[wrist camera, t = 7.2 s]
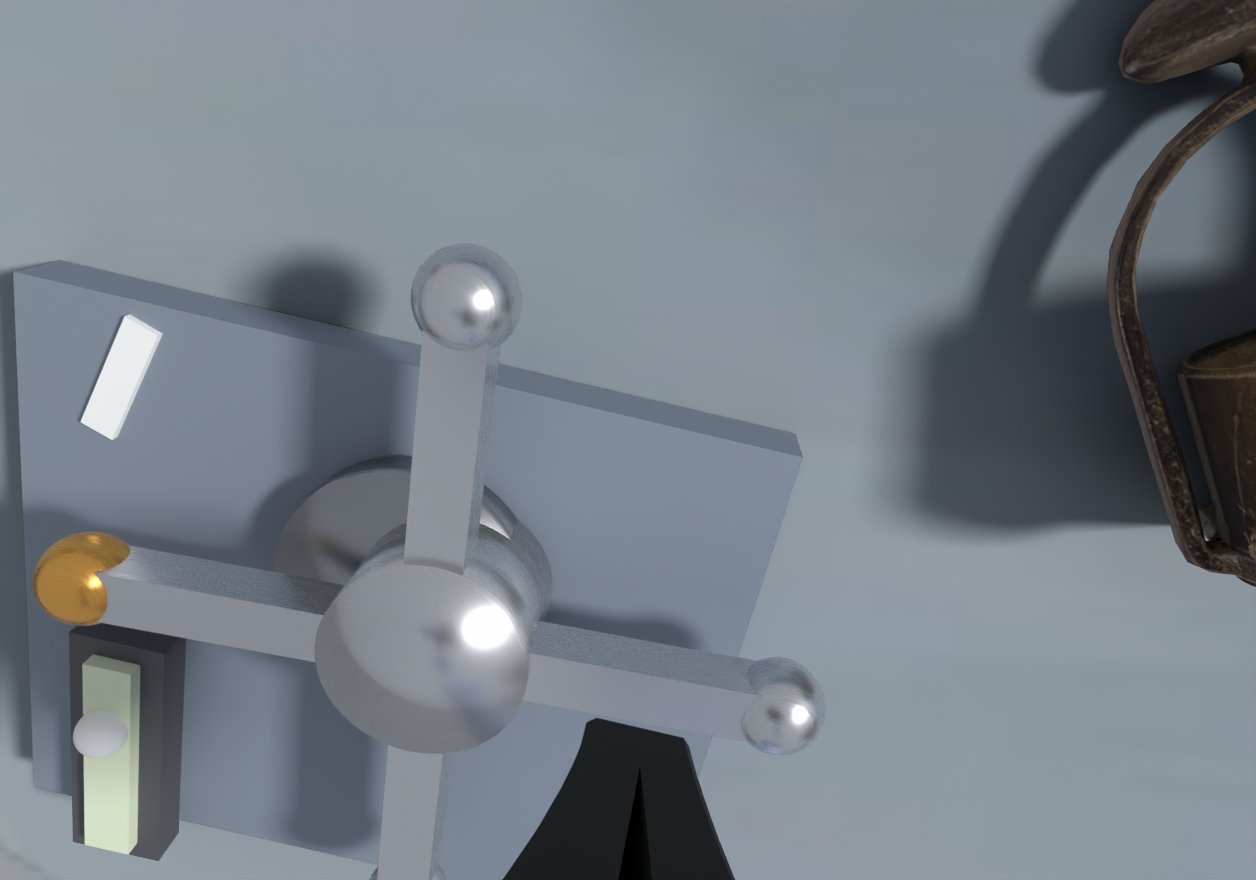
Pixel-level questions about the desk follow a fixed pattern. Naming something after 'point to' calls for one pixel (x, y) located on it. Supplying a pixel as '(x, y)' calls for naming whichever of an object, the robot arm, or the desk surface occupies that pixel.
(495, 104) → the desk surface
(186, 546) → the grey panel with crank
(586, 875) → the robot arm
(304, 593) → the capstan
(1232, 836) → the desk surface
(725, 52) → the desk surface
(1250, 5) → the brown looped piece
